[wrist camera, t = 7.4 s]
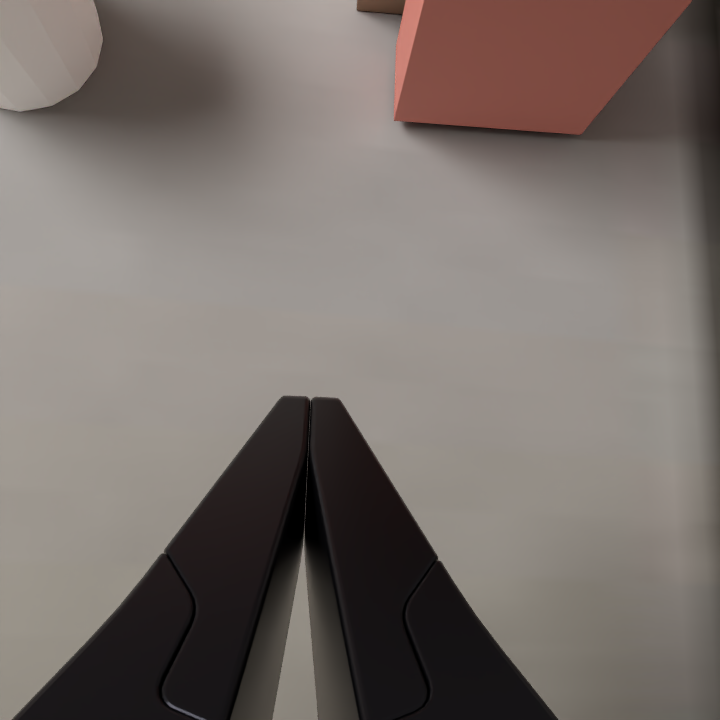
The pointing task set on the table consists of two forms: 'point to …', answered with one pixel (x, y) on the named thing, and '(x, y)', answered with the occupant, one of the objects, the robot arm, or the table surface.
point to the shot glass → (46, 50)
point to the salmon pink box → (521, 59)
